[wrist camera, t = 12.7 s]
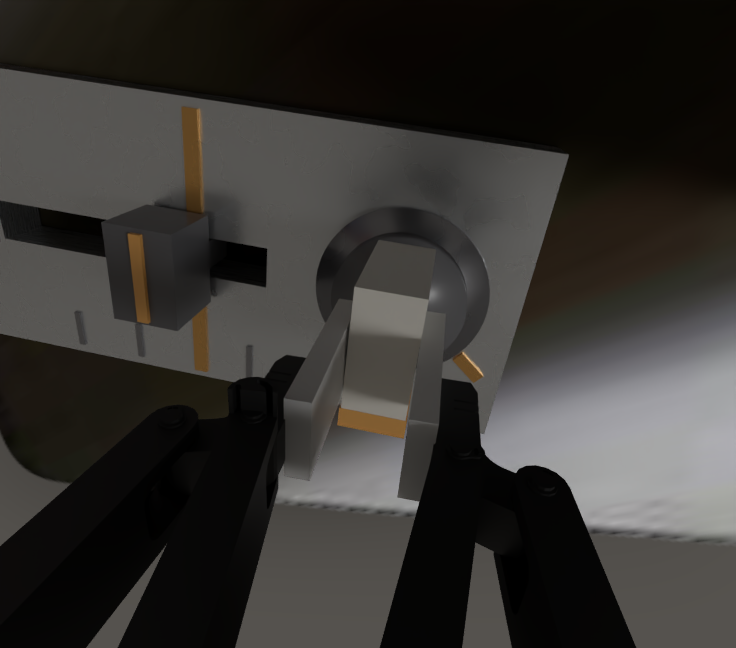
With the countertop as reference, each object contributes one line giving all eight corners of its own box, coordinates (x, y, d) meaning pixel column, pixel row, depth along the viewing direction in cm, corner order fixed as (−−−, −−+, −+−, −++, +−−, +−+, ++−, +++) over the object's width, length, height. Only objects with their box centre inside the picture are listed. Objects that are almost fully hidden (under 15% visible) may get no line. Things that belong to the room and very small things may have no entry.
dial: (341, 221, 21) (300, 271, 15) (480, 244, 20) (487, 304, 15) (330, 341, 24) (292, 418, 18) (452, 364, 23) (449, 451, 18)
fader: (175, 192, 25) (97, 223, 19) (231, 202, 24) (168, 236, 19) (180, 273, 27) (111, 320, 21) (232, 282, 26) (175, 333, 21)
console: (-27, 59, 23) (-84, 56, 21) (557, 146, 21) (570, 155, 18) (30, 314, 30) (-8, 335, 27) (482, 405, 27) (484, 437, 25)
